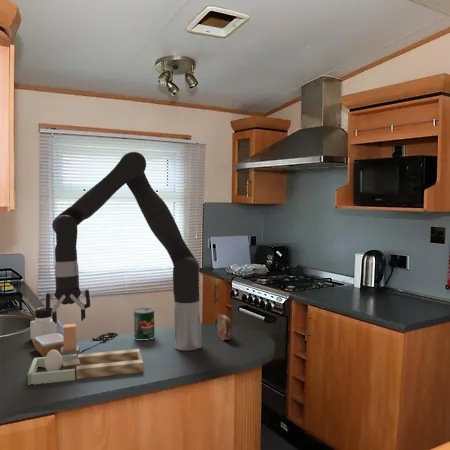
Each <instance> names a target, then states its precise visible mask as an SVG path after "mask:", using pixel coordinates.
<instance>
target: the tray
mask: <svg viewBox="0 0 450 450" xmlns="http://www.w3.org/2000/svg"><path fill="white" fill-rule="evenodd" d="M61 356H62V360H63V361H66V360H74V359H77V354H72V355H61ZM45 358H46V357H43V356H41V357H33V360H32V362H31V365H30V368H29V369H28V372H27V378H26V379H27V386H31V384H33V385H40V384H42V383H43V384H50V383H59V382H68V381H75V380H76V373H75V369H69V370H63V369H60V370H59V371H41V372H36V371H38V369H39V368H38V367H42V368H45ZM62 365H63V363H62ZM37 368H38V369H37Z"/></svg>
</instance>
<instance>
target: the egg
mask: <svg viewBox="0 0 450 450" xmlns="http://www.w3.org/2000/svg"><path fill="white" fill-rule="evenodd" d="M62 363H63V360H62V356H61V354H60V353H59V351H57V350H51V351H49V352H48V354H47V356H46V358H45V367H44V368H45V369H46V372H49V371H59V370H62V368H63V366H62Z"/></svg>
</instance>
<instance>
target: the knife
mask: <svg viewBox="0 0 450 450" xmlns="http://www.w3.org/2000/svg"><path fill="white" fill-rule="evenodd" d="M118 335H119V334H118V333H116V332H107V333H103V334H100V335H99V336H97V337H96V338H95V337H92V338H91V339H92V340H94V341H105V342H107V339H108V340H109V338H112V337H114V338H115V337H118ZM99 338H100V339H99ZM102 338H103V339H102ZM104 338H105V339H104ZM97 339H98V340H97ZM112 339H113V338H112ZM92 340H91V341H92Z"/></svg>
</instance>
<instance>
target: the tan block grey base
mask: <svg viewBox="0 0 450 450" xmlns="http://www.w3.org/2000/svg"><path fill="white" fill-rule="evenodd" d="M62 327H63V328H62V336H63V339H64V346H62V347H61V355H72V354H77V358H78V354H81V353H80V346H81V345H80V344H77V323H68V324H67V323H65V324H63V326H62Z"/></svg>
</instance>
